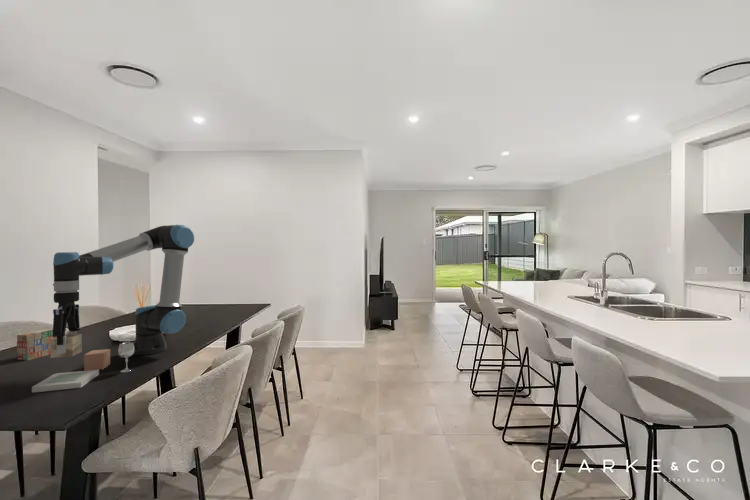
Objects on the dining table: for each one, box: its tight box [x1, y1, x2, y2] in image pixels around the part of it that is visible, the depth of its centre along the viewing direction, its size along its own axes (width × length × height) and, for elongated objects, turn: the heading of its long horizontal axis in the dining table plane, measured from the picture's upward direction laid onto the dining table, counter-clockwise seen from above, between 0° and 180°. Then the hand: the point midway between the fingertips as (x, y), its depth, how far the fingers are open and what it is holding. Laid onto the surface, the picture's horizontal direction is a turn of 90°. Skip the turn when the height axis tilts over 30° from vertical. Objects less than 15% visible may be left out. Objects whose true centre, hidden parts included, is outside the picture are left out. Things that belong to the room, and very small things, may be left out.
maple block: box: [50, 333, 83, 359], centre depth 139 cm, size 7×7×7 cm
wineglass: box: [117, 340, 135, 373], centre depth 153 cm, size 6×6×12 cm
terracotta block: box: [83, 348, 111, 371], centre depth 157 cm, size 7×7×7 cm
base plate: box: [31, 370, 100, 393], centre depth 139 cm, size 15×15×2 cm
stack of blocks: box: [16, 328, 70, 361], centre depth 179 cm, size 21×6×12 cm, turn 168°
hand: (66, 350), depth 139 cm, fingers closed on maple block, 7 cm apart
